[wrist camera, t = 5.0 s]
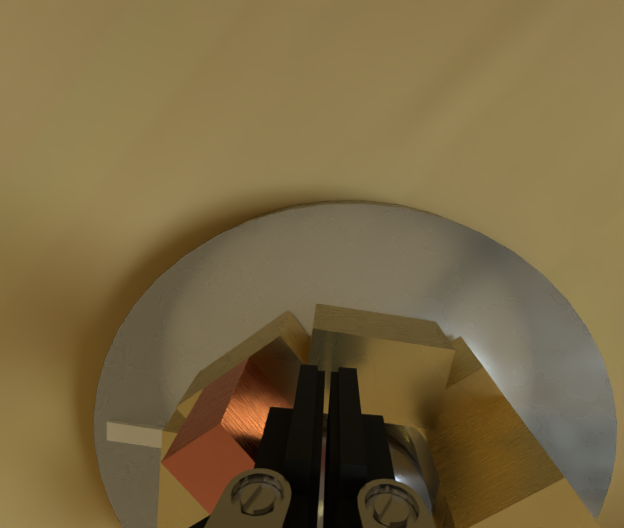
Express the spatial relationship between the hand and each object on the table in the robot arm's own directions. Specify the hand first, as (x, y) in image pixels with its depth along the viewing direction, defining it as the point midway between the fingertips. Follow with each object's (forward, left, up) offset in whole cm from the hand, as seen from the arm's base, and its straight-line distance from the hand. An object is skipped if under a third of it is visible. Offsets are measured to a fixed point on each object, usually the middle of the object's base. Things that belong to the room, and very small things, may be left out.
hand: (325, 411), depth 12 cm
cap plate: (-1, +5, -6) cm, 8 cm away
